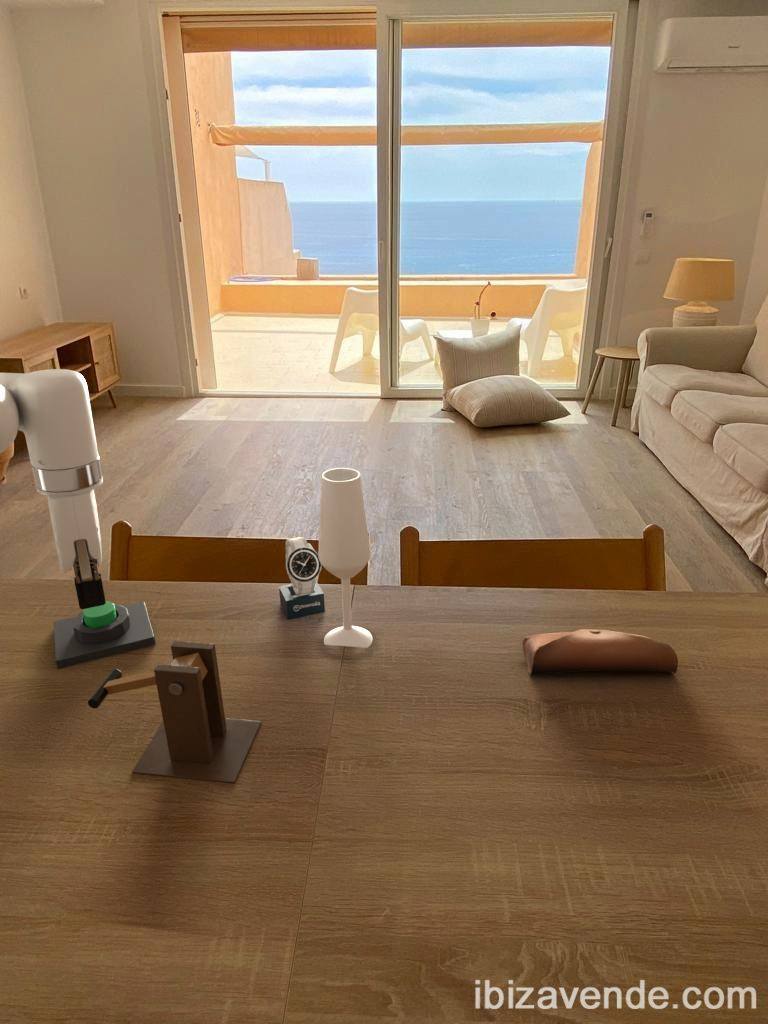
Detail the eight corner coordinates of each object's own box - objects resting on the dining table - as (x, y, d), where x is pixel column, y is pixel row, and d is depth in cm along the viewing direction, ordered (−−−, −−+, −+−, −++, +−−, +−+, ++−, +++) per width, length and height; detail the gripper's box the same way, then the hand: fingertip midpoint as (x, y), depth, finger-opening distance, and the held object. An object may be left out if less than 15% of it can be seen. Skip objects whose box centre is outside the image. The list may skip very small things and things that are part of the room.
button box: (59, 675, 88) (52, 649, 86) (56, 634, 96) (50, 610, 95) (156, 650, 92) (152, 625, 91) (146, 613, 101) (142, 590, 99)
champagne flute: (320, 628, 97) (310, 467, 87) (368, 623, 98) (363, 463, 88) (326, 657, 91) (316, 487, 81) (377, 650, 92) (373, 482, 82)
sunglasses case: (653, 635, 93) (669, 613, 88) (665, 685, 89) (683, 665, 84) (518, 637, 93) (526, 614, 88) (525, 687, 89) (533, 667, 84)
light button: (86, 631, 90) (83, 620, 90) (84, 616, 94) (81, 605, 93) (118, 623, 92) (115, 612, 91) (115, 609, 95) (112, 598, 95)
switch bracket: (133, 780, 72) (111, 680, 66) (169, 721, 80) (153, 627, 75) (235, 791, 70) (221, 689, 65) (262, 729, 78) (251, 634, 73)
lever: (93, 714, 71) (82, 695, 71) (117, 683, 76) (107, 665, 75) (194, 693, 68) (184, 674, 68) (213, 663, 73) (203, 644, 72)
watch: (291, 627, 97) (285, 557, 93) (277, 599, 104) (271, 533, 99) (329, 618, 99) (325, 550, 94) (313, 591, 106) (309, 526, 101)
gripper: (33, 459, 89) (59, 584, 96) (34, 500, 76) (64, 640, 84) (96, 451, 92) (116, 573, 99) (106, 490, 79) (129, 626, 87)
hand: (92, 603), depth 92 cm, fingers closed
